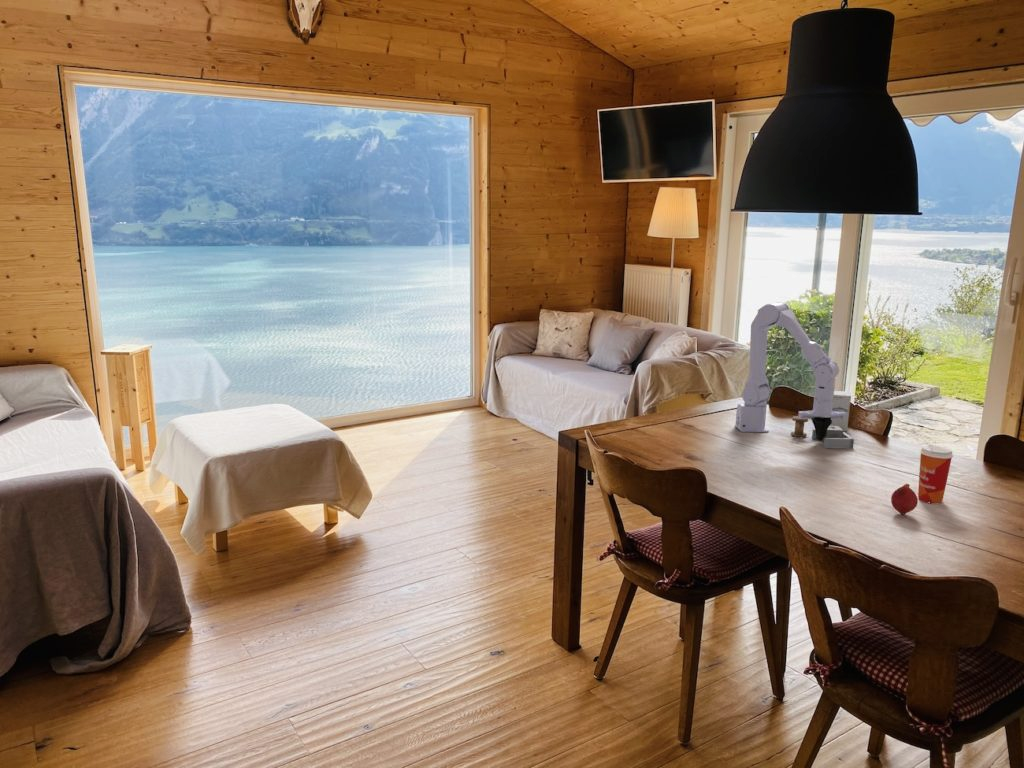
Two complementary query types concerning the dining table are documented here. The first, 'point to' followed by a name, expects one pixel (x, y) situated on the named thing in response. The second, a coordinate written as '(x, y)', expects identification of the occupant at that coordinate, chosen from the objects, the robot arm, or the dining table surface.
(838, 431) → the dice cube
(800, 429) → the bobbin
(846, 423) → the supplement box
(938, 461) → the paper cup
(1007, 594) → the dining table surface
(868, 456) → the dining table surface
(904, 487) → the onion
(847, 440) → the notch block
